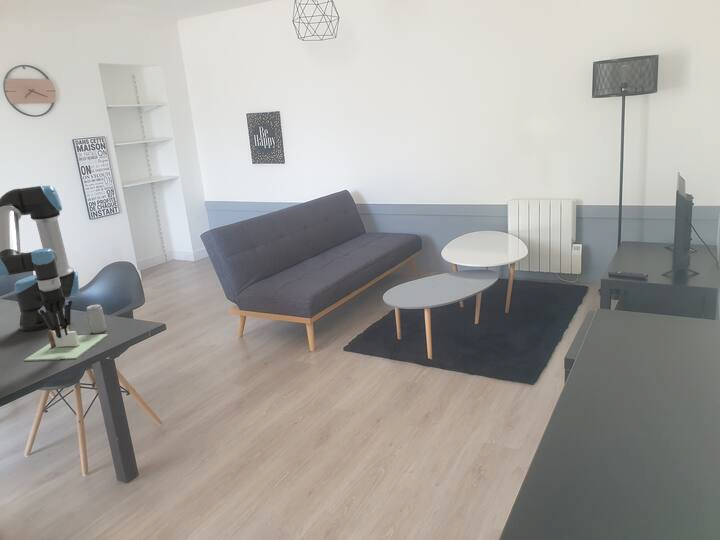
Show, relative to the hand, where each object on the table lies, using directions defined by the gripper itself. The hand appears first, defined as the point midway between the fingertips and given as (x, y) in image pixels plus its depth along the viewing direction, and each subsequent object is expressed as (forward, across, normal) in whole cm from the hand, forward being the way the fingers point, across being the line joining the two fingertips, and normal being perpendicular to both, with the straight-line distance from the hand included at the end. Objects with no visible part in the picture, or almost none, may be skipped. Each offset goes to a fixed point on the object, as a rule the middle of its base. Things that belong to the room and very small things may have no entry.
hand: (64, 344), depth 223 cm
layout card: (+4, +4, +6) cm, 9 cm away
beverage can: (+5, +21, +11) cm, 24 cm away
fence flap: (+4, +4, +6) cm, 8 cm away
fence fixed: (+4, +5, +14) cm, 15 cm away
